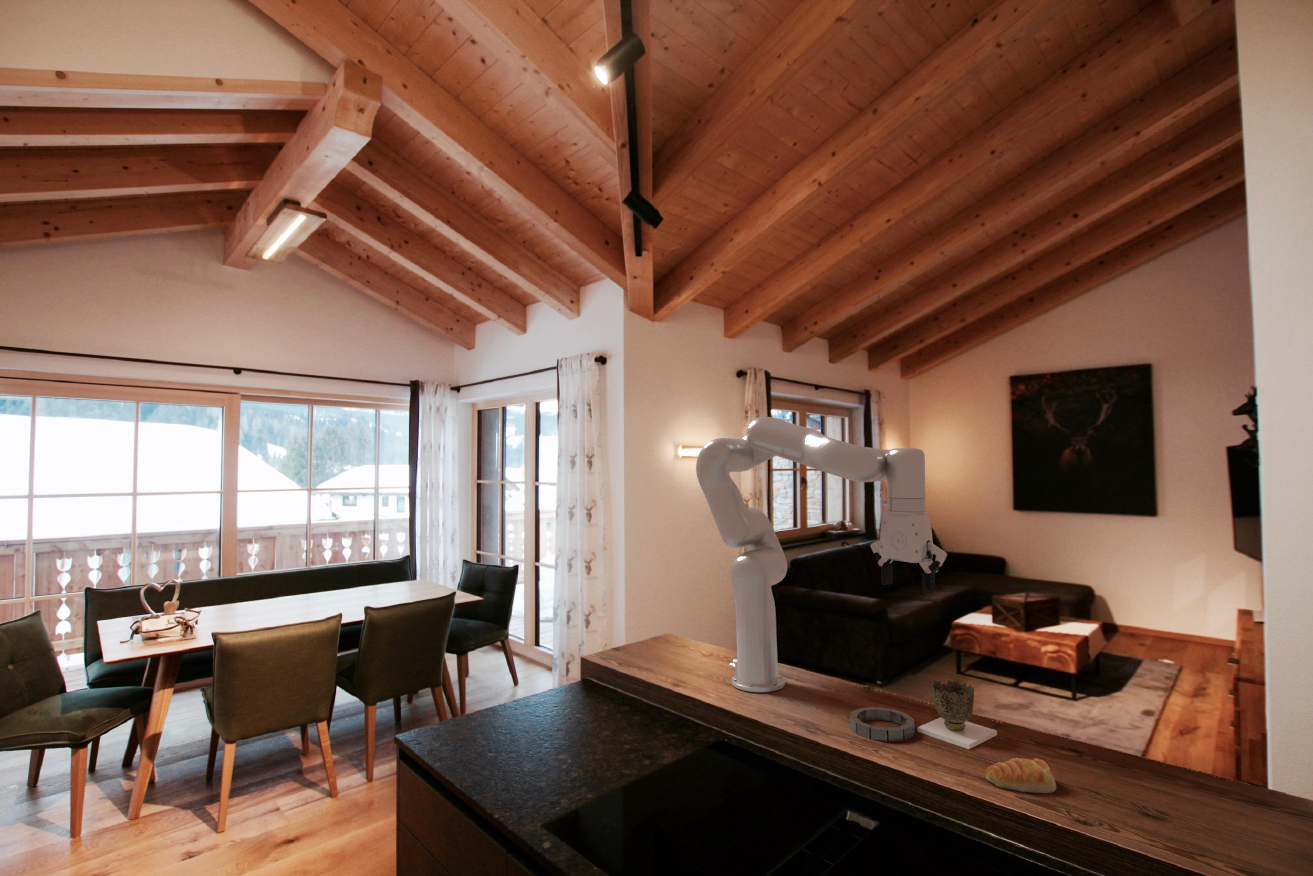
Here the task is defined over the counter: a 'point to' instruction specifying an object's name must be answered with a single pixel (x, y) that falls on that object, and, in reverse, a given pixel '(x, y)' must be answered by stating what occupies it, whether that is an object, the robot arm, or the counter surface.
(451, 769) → the counter surface
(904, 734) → the stone ring
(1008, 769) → the pastry
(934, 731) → the stone coaster
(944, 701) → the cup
